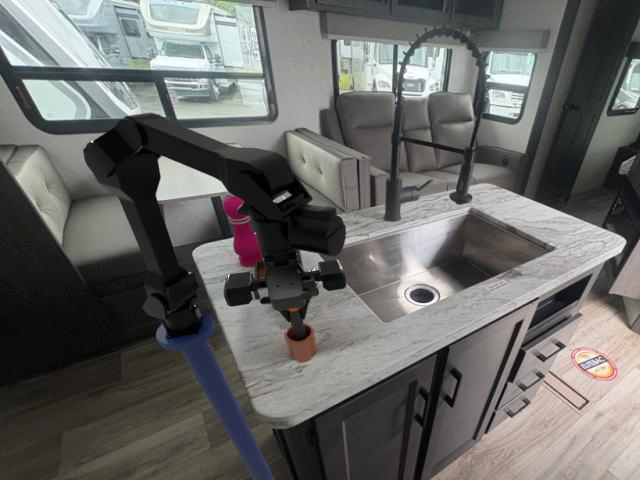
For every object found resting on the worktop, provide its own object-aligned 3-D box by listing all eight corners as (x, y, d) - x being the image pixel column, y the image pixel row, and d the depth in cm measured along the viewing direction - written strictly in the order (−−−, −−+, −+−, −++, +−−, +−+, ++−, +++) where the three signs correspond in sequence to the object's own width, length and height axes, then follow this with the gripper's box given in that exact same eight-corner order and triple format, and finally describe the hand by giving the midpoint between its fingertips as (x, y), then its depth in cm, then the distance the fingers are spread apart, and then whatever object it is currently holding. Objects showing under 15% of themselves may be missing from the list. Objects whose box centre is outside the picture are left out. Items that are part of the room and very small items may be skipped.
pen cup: (290, 365, 61) (284, 345, 58) (288, 345, 65) (283, 326, 62) (318, 359, 63) (315, 339, 59) (315, 340, 67) (312, 320, 64)
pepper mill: (232, 264, 90) (208, 192, 77) (251, 252, 95) (231, 184, 83) (253, 269, 87) (231, 197, 75) (270, 257, 93) (253, 188, 81)
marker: (296, 350, 62) (284, 304, 55) (295, 341, 63) (284, 296, 56) (309, 347, 62) (299, 302, 55) (307, 339, 64) (298, 294, 57)
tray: (255, 299, 77) (252, 291, 76) (256, 269, 88) (254, 261, 86) (303, 291, 80) (301, 284, 79) (299, 263, 91) (297, 255, 89)
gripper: (203, 280, 41) (238, 363, 50) (349, 260, 46) (355, 339, 55) (214, 241, 49) (242, 318, 59) (336, 227, 54) (344, 301, 64)
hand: (296, 319), depth 59 cm, fingers closed on marker, 2 cm apart
